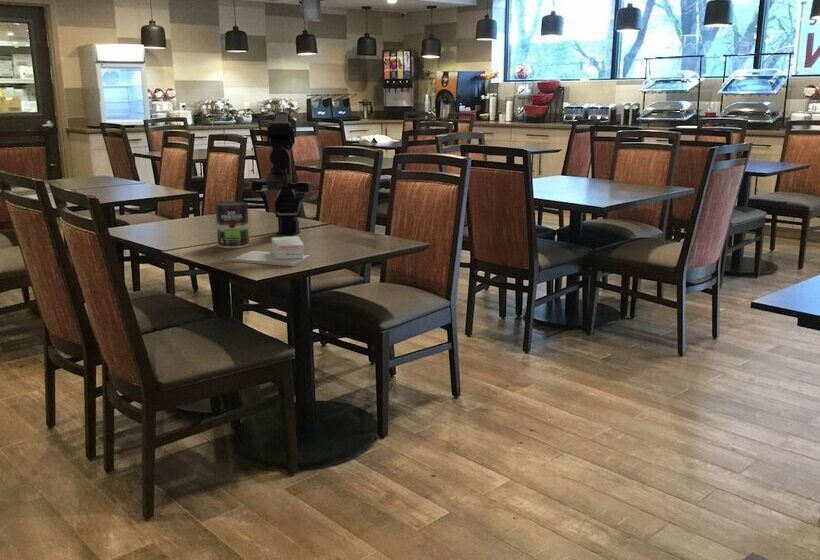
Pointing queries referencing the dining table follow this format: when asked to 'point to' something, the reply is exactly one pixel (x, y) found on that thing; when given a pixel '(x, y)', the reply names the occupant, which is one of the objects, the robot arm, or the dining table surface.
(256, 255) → the mat
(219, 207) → the coffee can
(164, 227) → the dining table surface
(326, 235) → the dining table surface
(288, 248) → the ink box
